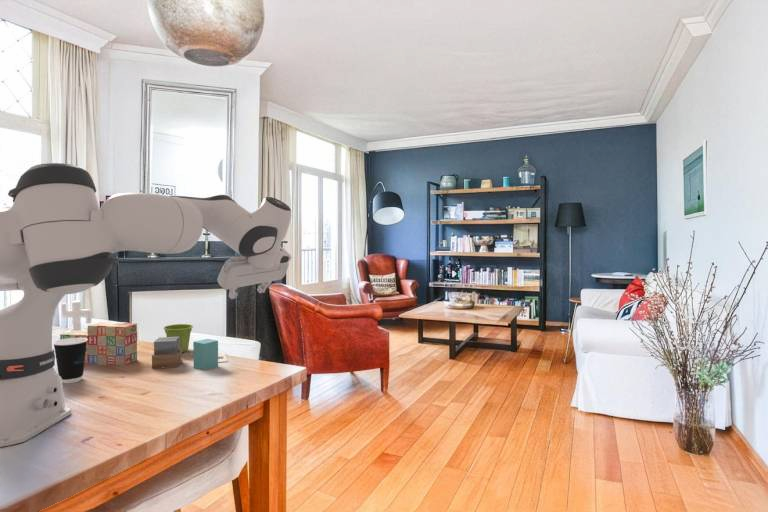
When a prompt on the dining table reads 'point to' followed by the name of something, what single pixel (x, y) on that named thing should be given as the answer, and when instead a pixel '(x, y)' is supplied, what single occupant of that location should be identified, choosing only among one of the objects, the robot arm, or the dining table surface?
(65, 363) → the dixie cup
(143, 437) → the dining table surface
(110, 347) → the stack of blocks
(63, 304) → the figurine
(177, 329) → the plant pot
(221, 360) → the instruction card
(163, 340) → the grey-brown block
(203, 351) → the teal brick
